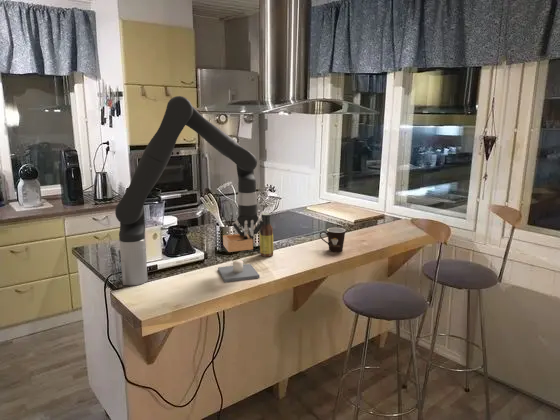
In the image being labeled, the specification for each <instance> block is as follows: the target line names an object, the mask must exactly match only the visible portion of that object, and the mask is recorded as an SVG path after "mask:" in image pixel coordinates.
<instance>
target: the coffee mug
mask: <svg viewBox="0 0 560 420" xmlns="http://www.w3.org/2000/svg"><path fill="white" fill-rule="evenodd" d="M346 232H347V231H346V229H345V228H342V227H341V228H340V227H329V228H327V232H326V231H324V230H323V231H320V233H319V237H320V239H321V240H322V241H323V242H325V244H327V245H328V251H329V252H331V253H342V252H343V250H344V249H343V248H344V243H345V236H346ZM322 234H326V236H327V240H325V239H323V237H322Z"/></svg>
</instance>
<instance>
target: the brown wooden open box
mask: <svg viewBox="0 0 560 420" xmlns="http://www.w3.org/2000/svg"><path fill="white" fill-rule="evenodd" d="M222 242H223V243H222V244H223V246H224V248H225V249H226V251H227V252H228V253H231V252H241V251H250V250H254V238H253V239H252V238H251V237H250V236H249V233H247V239H245V240H243V236H241V235H240V234H239V233H236V234H235V233H234V234H233V233H232V234H224V235H222Z"/></svg>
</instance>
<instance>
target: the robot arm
mask: <svg viewBox="0 0 560 420" xmlns="http://www.w3.org/2000/svg"><path fill="white" fill-rule="evenodd" d="M185 127H189V128H190V129H192V130H193V131H194V132H195V133H196V134H198V135H199V136H200V137H201V138H202V139H204V140H205V141H206V142H207V143H208V144H209V145H210V146H211V147H212V148H213V149H215V150H216V151H218V152H219V153H220V154H221V155H223V156H225V157H226V158H228V159H229V160H230V161H232V162H233V163H234V164H235V165H236V173H237V179H238V180H237V186H238V188H237V189H238V190H237V191H238V194H237V218H236V220H235V221H232V222H231V225H232V227H233V228H234V229H235V231H236V232H237V234H240V235H241V236H243V240H245V239H247V234H248V235H249V236H250V237H251V238H252V239H253V240H254V236H255V235H258V233H260V232H259V231H260V228H261V227H262V225H263V223H264V222H263V221H262V219H260V218H259V216H258V196H257V182H256V180H257V179H256V177H255V175H254V170H255V169H256V168H257V166H258V160H257V157H256V155H254V154H253V153H251V151H249V150H248V149H246V148H245V147H243V146H241V145H240V144H239V143H238V142H237V141H235V139H233V138H232V137H231V136H229V134H227V133H226V132H225V131H223V130H221V129H220V127H218V126H216V125H214V124H213V123H212V122H211V121H209V120H208V119H206V118H205V117H204V116H203V115H202V114H201V113H200V112H199V111H198V110H197V109H196V108H195V107H194V106H193V105H192V102H191V101H190V100H189V99H188V98H187V97H185V96H182V95H177V96H174V97H172V98H170V100H169V101H168V102H167V104H166V107H165V112H164V115H163V117H162V120H161V123H160V125H159V127H158V129H157V131H156V132H155V134H154V135H153V137H152V138H151V139H150V141H149V142H148V144H147V145H146V147H145V149H144V150H143V153H142V155H141V157H140V159H139V161H138V164H137V166H136V168H135V170H134V174H133V175H132V178H131V181H130V184H129V186H128V187H127V189H126V191H125V192H124V194H123V196H122V197H121V198H120V200H119V202H118V203H117V205H116V206H115V211H114V213H115V217H116V220H118V222H119V231H118V232H119V233H118V239H119V250H120V251H119V253H120V267H121V279H122V285H123V286H131V287H132V286H139V285H143V284H145V283H147V282H148V280H149V279H148V277H149V276H148V266H147V253H146V238H145V237H146V235H145V234H146V233H145V231H146V221H145V215H146V214H145V206H144V205H145V202H146V200H147V197H148V195H149V194H150V192H151V191H152V189H153V188H154V187H155V185H156V183H158V181H159V179H160V178H161V176H162V175H163V173H164V171H165V169H166V167H167V166H168V163H169V161H170V159H171V156H172V155H173V151H174V149H175V146H176V143H177V141H178V139H179V136H180V135H181V133H182V131H183V130H184V128H185ZM239 224H240V226H241V228H242V231H241V229H240V228H239ZM255 225H256V226H255Z"/></svg>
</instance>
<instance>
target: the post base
mask: <svg viewBox="0 0 560 420" xmlns="http://www.w3.org/2000/svg"><path fill="white" fill-rule="evenodd" d="M232 264H233V265H228V266H218V267H217V271H218V272H219V275H220V276H221V278H222V279H224V280H223V282H224V283H230V282H238V281H246V280H254V279H260V274H259V273H258V271H257V270H256V268H254V266H253V265H252V264H251V263H247V264H246V263H244V261H243V260H239V259H237V260H234V261H232Z"/></svg>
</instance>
